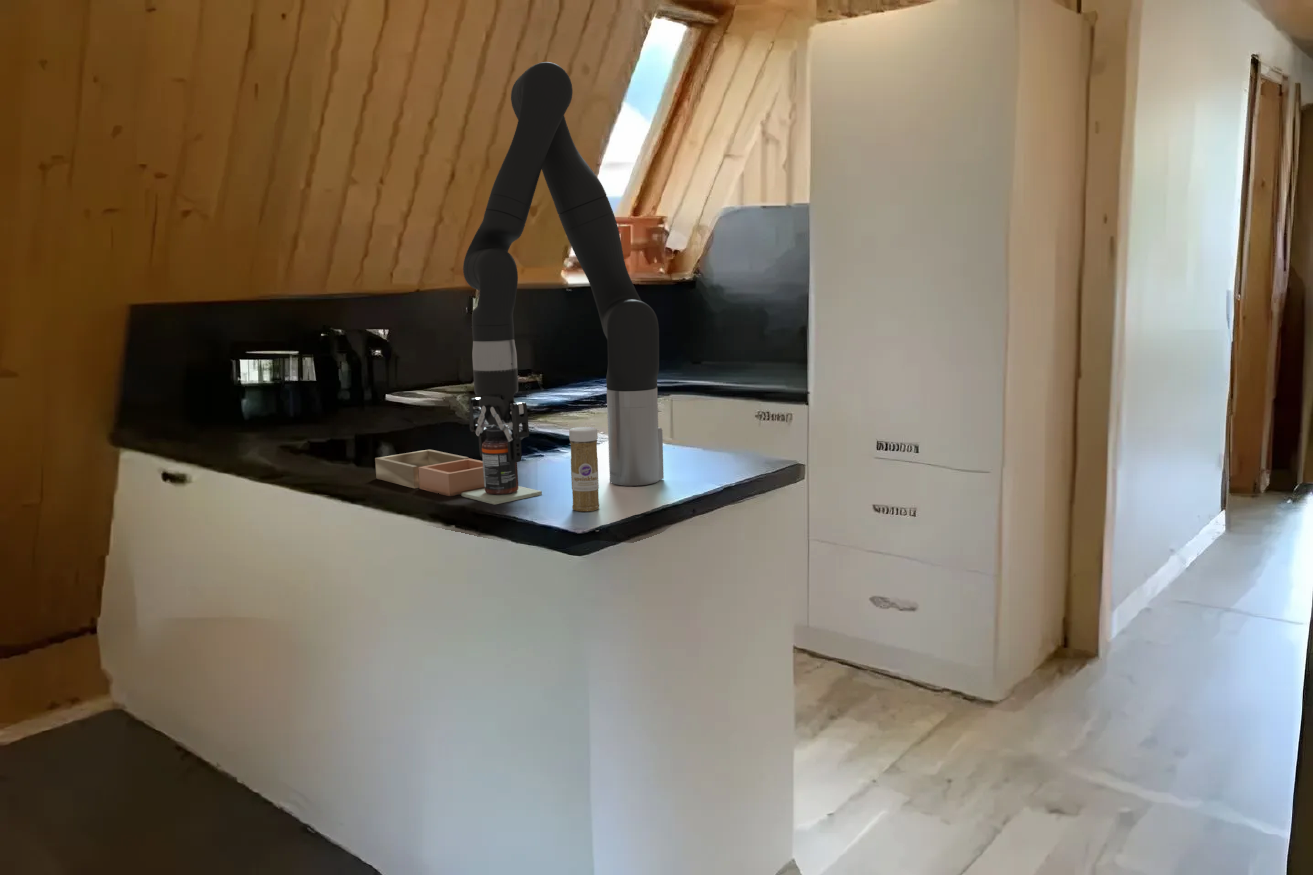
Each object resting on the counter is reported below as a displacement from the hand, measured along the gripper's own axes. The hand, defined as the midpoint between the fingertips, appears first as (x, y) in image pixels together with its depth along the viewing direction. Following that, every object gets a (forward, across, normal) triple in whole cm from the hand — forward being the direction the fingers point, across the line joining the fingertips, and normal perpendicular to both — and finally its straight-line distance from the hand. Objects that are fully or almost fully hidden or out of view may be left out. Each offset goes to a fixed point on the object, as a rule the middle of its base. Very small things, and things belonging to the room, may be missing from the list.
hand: (500, 459), depth 178 cm
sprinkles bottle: (+7, -19, -3) cm, 21 cm away
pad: (+6, 0, 0) cm, 7 cm away
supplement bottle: (+6, 0, 0) cm, 6 cm away
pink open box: (+6, +12, +1) cm, 13 cm away
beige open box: (+6, +25, +1) cm, 26 cm away
